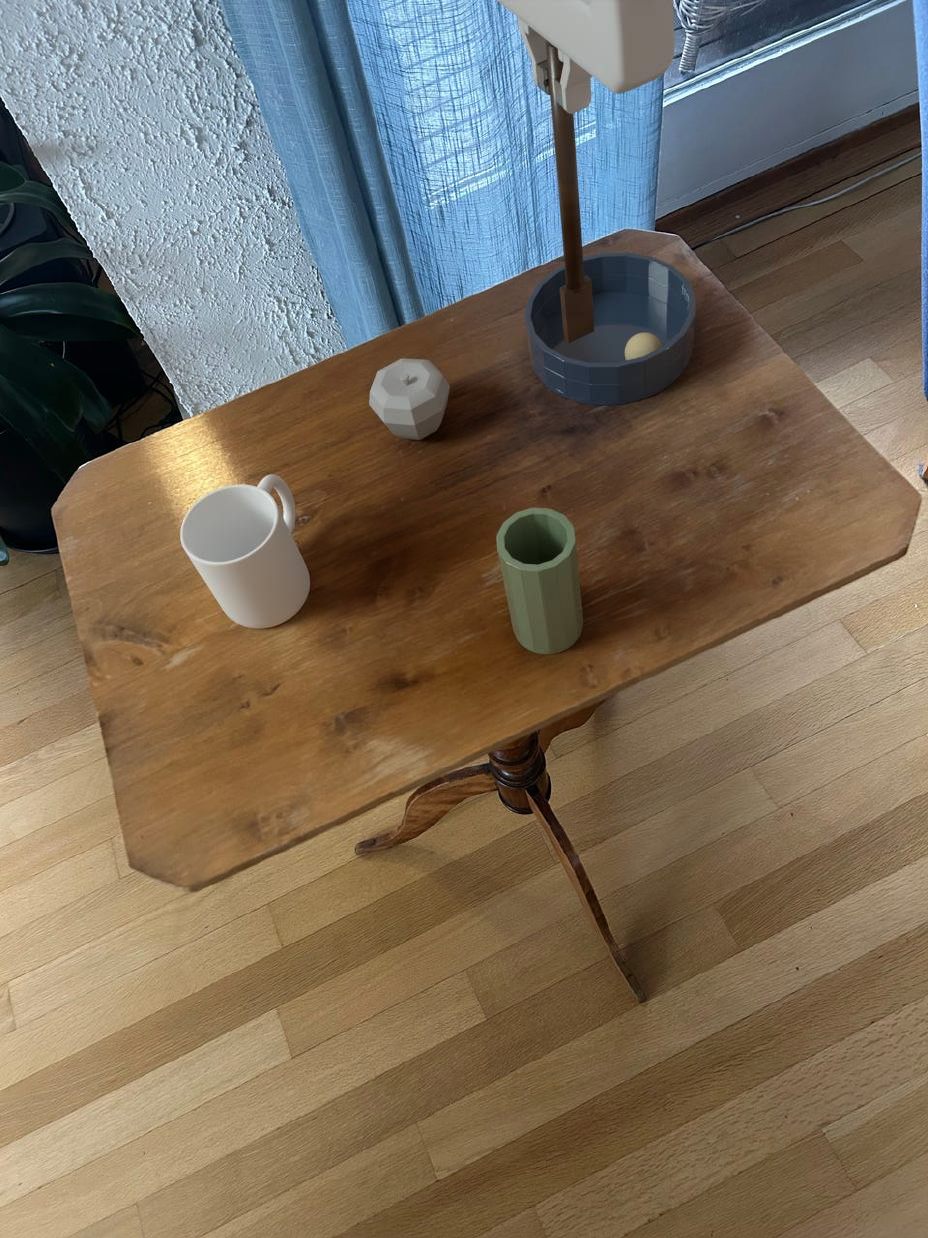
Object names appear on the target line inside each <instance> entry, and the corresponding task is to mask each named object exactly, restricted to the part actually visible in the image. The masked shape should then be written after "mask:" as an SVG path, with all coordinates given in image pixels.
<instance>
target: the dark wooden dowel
mask: <svg viewBox="0 0 928 1238" xmlns="http://www.w3.org/2000/svg"><path fill="white" fill-rule="evenodd" d="M546 52H547V64H548V76H549V88H550V95H549V99H550V100H549V101H550V109H551V110H550V111H551V120H552V121H551V123H552V133H553V135H552V136H553V145H554V155H555V157H554V158H555V169H556V180H557V193H558V204H559V215H560V229H561V239H562V241H561V242H562V251H563V252H562V253H563V262H564V263H563V265H565V277H566V285H564V286H562V287H560V299H561V310H562V321H563V332H564V339H565V340H566V341H567V342H568V343H571V342H573V341H575V340H577V339H579V338H581V337H583V336H585V335H587V334H590V333H592V332H594V315H593V298H592V281H591V279H590V278H589V277H588V276H587V275H585V276H584V264H583V257H584V251H583V250H584V249H583V238H582V237H583V236H582V234H583V233H582V221H581V220H582V219H581V206H580V205H581V204H580V191H579V190H580V189H579V176H578V175H579V173H578V159H577V145H576V130H575V129H576V128H575V127H576V126H575V113H573V114H570V113H568V112H567V111H565V110H564V109H563V108H562V107H561V106H560V105H559V104H558V103H557V102H556V100H555V95H556V92H555V89H554V79H555V78H557V77H559V76H561V75H562V70H563V65H564V62H562V61H560V60H559V57H558V49H557V48H556V47H555V46H554V45H552V44H551V43H550V42H549V41H547V40H546Z"/></svg>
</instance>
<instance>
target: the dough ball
mask: <svg viewBox="0 0 928 1238" xmlns="http://www.w3.org/2000/svg"><path fill="white" fill-rule="evenodd" d="M661 347H662V344H661V342H660V340H659V339H658V338H657V337H656V336H655V335H653V334H651V333H639V334H636V335H634V336H633V337H632V338H631V339H630V340H629V341H628V343H627V344H626V347H625V358H626V360H630V359H634V358H638V357H643V356H645V355H647V354H649V353H651V352H653V351H655V350H657V349H659V348H661Z"/></svg>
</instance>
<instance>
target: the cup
mask: <svg viewBox="0 0 928 1238" xmlns="http://www.w3.org/2000/svg"><path fill="white" fill-rule="evenodd" d="M274 489H275V491H276V492H277V494H278V496H279V498H280V499H281V504H282V509H283V513H282V512H281V510H280V508H279V505H278V504H277V502H276V500H275V499H274V497H273V496H272V495H271V493H272V491H273V490H274ZM294 499H295V498H294V496H293V493H292V490H291V489H290V488H289V485H288V484H287V482H286V481H285V480H284V479H283V478H282V477H281V476H279V475H277V474H274V473H271V474H268V475H267V474H266V475H265V476H264V477H263V478H262V479H260V482H259V483H258V484H257V486H255V485H250V484H242V483H241V484H240V483H239V484H231V485H226V486H223V487H219V488H216V489H214V490H213V491H210V492H209V493H206V494H205V495H204V496H201V498H200V499H198V500H197V501H196V502H195V503H194V504H193V505H192V506H191V507H190V508H189V509H188V511H187V513H186V514H185V516H184V518H183V520H182V523H181V526H180V530H179V531H180V533H179V538H180V543H181V546H182V548H183V550H184V552H185V553H186V555H187V556H188V558H189V559H190V561H191V562H192V564H193V566H194V567H195V569H196V570H197V572H198V573H199V575H200V576H201V578H202V579H203V581H204V583H205V584H206V586H207V587H208V589H209V590H210V592H211V593H212V595H213V597H214V598H215V600H216V602H217V603H218V605H219V606H220V608H221V609H222V610H223V612H224V613H225V615H226V616H227V617H228V618H229V619H230V620H231V621H232V622H234V623H235V624H237V625H240V626H242V627H244V628H249V629H254V630H255V629H256V630H257V629H258V630H260V629H268V628H269V629H270V628H273V627H276V626H279V625H281V624H284V623H285V622H287V621H288V620H290V619H292V618H293V617H294V616H295V615H297V613H298V612H299V611H300V610H301V609H302V607H303V606H304V604H305V602H306V601H307V599H308V597H309V594H310V593H309V592H310V588H311V578H310V577H311V576H310V573H309V570H308V567H307V564H306V562H305V560H304V558H303V556H302V554H301V552H300V550H299V547H298V546H297V543H296V542H295V539H294V537H293V531H294V529H295V524H296V518H297V512H296V503H295V500H294Z"/></svg>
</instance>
